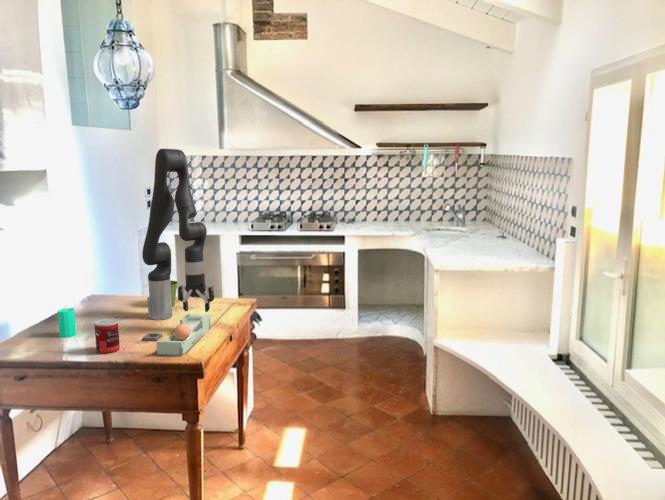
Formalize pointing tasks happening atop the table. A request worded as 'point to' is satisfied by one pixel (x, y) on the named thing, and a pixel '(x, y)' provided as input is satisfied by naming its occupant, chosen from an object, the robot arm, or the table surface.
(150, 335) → the grey picture frame
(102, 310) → the table surface
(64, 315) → the candle
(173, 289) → the plant pot
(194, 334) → the lane
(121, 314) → the table surface
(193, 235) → the robot arm
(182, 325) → the ball
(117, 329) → the canned food
